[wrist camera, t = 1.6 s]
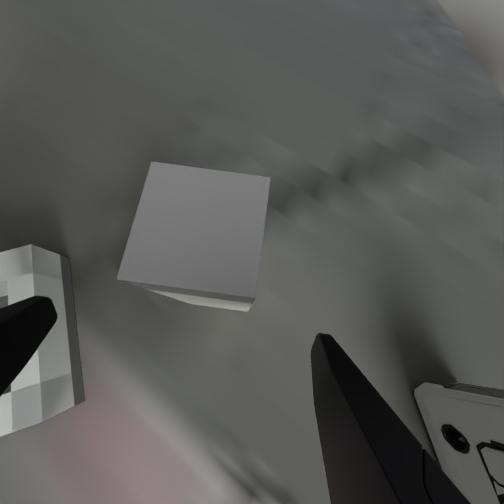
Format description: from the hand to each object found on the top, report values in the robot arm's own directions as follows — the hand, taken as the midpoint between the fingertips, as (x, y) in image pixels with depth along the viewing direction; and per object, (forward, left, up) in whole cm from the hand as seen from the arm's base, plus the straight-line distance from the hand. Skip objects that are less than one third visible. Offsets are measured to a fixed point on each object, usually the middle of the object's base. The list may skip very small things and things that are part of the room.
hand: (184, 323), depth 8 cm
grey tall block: (+3, -1, -10) cm, 11 cm away
